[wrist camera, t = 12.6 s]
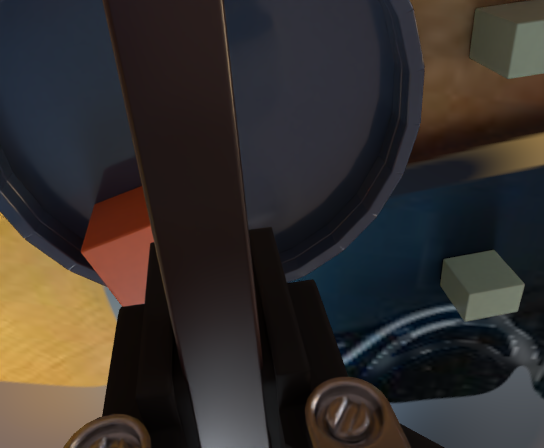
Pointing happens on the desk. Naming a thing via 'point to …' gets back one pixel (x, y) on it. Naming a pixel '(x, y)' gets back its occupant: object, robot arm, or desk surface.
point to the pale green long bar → (510, 64)
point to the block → (120, 245)
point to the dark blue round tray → (249, 111)
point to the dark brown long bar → (195, 204)
